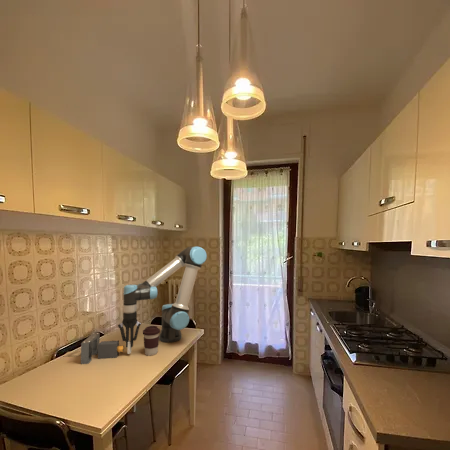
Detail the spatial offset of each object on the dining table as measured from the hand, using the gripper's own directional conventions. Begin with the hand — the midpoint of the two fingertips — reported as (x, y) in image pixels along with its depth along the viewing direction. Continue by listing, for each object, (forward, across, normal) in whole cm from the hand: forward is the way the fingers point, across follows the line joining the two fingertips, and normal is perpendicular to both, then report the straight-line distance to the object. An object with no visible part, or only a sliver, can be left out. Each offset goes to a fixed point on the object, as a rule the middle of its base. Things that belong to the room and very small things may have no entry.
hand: (129, 352), depth 151 cm
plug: (+2, +10, 0) cm, 10 cm away
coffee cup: (+2, -12, -1) cm, 12 cm away
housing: (+2, +22, 0) cm, 22 cm away
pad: (+2, +34, -7) cm, 34 cm away
